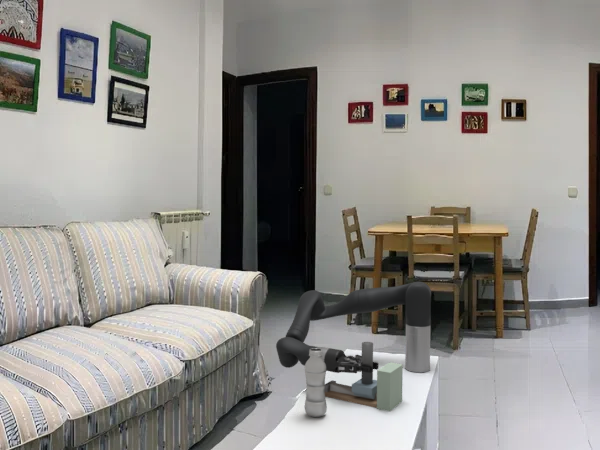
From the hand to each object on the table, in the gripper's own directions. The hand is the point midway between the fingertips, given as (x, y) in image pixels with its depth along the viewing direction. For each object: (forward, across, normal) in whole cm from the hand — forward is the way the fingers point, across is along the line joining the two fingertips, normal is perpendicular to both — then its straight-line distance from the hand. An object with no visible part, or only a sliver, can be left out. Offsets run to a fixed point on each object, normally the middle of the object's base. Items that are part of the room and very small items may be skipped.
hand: (375, 367), depth 179 cm
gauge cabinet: (+5, 0, +11) cm, 12 cm away
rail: (-7, 0, +11) cm, 13 cm away
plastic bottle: (-10, -20, +11) cm, 25 cm away
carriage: (-3, 0, +9) cm, 10 cm away
